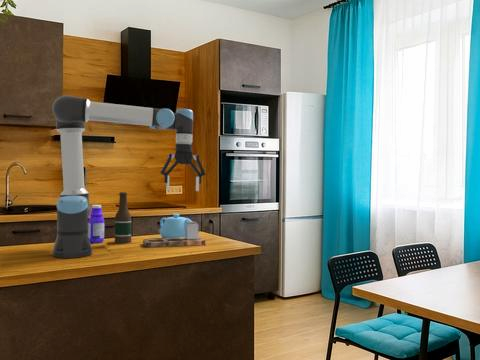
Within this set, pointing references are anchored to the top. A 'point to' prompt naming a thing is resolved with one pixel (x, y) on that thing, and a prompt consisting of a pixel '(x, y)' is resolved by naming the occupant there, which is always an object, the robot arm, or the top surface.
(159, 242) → the brown wooden board
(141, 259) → the top surface
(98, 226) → the bottle
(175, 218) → the teapot
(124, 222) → the beer bottle
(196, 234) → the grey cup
